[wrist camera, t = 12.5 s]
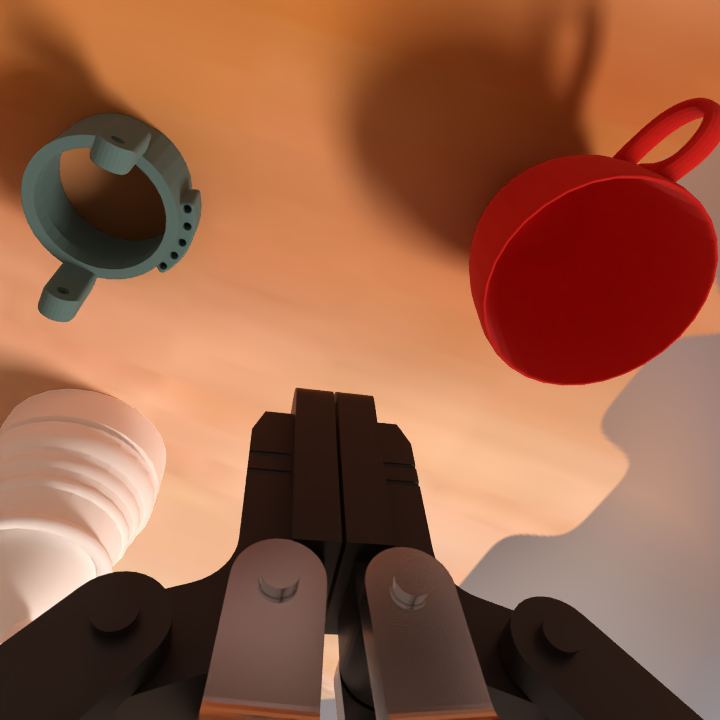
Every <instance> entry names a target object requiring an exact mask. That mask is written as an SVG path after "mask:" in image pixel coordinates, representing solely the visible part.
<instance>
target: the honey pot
mask: <svg viewBox="0 0 720 720" xmlns="http://www.w3.org/2000/svg"><path fill="white" fill-rule="evenodd" d="M165 466H166V449H165V446H164V443H163V440H162V437H161V435H160V434H159V432H158V431H157V429H156V428H155V427H154V425H153V424H152V422H151V421H150V420H149V419H147V418H146V417H145V416H144V415H143V414H142V413H140V412H139V411H138V410H137V409H136V408H134V407H132V406H130V405H128V404H126V403H125V402H123V401H121V400H119V399H117V398H115V397H111V396H108V395H105V394H102V393H99V392H95V391H89V390H80V389H59V390H49V391H46V392H43V393H40V394H37V395H33V396H30V397H29V398H27V399H26V400H24V401H23V402H21V403H20V404H18V405H17V406H15V407H14V409H13V410H12V412H11V413H10V414H9V416H8V417H7V418H6V420H5V421H4V423H3V424H2V426H1V428H0V645H1V644H2V643H3V642H5V641H6V640H7V639H9V638H10V637H12V636H13V635H14V634H16V633H17V632H18V631H20V630H21V629H23V628H24V627H25V626H27V625H28V624H29V623H31V622H32V621H33V620H35V619H36V618H38V617H39V616H40V615H42V614H43V613H44V612H46V611H47V610H49V609H50V608H51V607H53V606H54V605H55V604H57V603H58V602H60V601H61V600H62V599H64V598H65V597H66V596H68V595H69V594H71V593H72V592H73V591H75V590H76V589H77V588H79V587H80V586H82V585H83V584H85V583H86V582H88V581H90V580H92V579H94V578H96V577H98V576H102V575H105V574H108V573H113V570H112V566H114V565H115V564H116V563H117V562H118V561H119V560H120V559H121V558H122V557H123V555H124V553H125V551H126V549H127V547H128V546H129V545H130V544H131V543H132V542H133V540H134V538H135V537H136V536H137V535H138V534H139V533H140V532H141V531H142V530H143V529H144V527H145V526H146V524H147V522H148V520H149V518H150V516H151V513H152V511H153V509H154V503H155V501H156V496H157V494H158V491H159V487H160V484H161V480H162V477H163V473H164V470H165Z"/></svg>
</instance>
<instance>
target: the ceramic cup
mask: <svg viewBox="0 0 720 720" xmlns="http://www.w3.org/2000/svg"><path fill="white" fill-rule="evenodd" d="M701 117H704V118H703V121H702V123H701V125H700V127H699V128H698V130H697V131H696V133H695V134H694V135H693V137H692V138H691V139H690V140H689V141H688V142H687V143H686V144H685V146H684V147H682V148H681V149H680V150H679V151H678V152H677V153H675V154H674V155H673V156H671V157H669V158H667V159H665V160H663V161H660V162H657V163H645V164H638V165H637V163H638V162H639V161H640V160H641V159H642V158H643V157H644V156H645V155H646V154H647V153H648V152H649V151H650V150H651V149H652V148H654V147H655V146H656V145H657V144H658V143H659V142H661V141H662V140H663V139H664V138H666V137H667V136H668V135H669V134H671V133H672V132H673V131H675V130H676V129H678V128H679V127H681V126H683V125H685V124H686V123H688V122H690V121H693V120H695V119H698V118H701ZM719 142H720V105H719V104H717V103H716V102H714V101H712V100H710V99H706V98H694V99H690V100H686V101H684V102H681V103H679V104H677V105H674V106H673V107H671V108H669V109H667V110H666V111H664V112H663V113H661V114H660V115H658V116H657V117H656V118H655V119H653V120H652V121H651V122H650V123H648V124H647V125H646V126H645V127H644V128H643V129H641V130H640V131H639V132H638V133H637V134H636V135H635V136H634V137H633V138H632V139H631V140H630V141H629V142H628V143H626V144H625V145H624V146H623V147H622V148H621V149H620V150H619V151H618V152H617V153H616V154H615V155H614V156H613V158H610V157H606V156H601V155H571V156H565V157H560V158H555V159H550V160H547V161H545V162H542V163H540V164H537V165H535V166H532V167H530V168H529V169H527V170H525V171H524V172H522V173H521V174H519V175H517V176H516V177H514V178H513V179H512V180H511V181H509V182H508V183H507V184H506V185H505V186H504V187H503V188H501V189H500V190H499V192H498V193H497V194H496V195H495V196H494V198H493V199H492V200H491V201H490V202H489V204H488V205H487V207H486V209H485V211H484V212H483V214H482V216H481V218H480V220H479V222H478V224H477V227H476V230H475V233H474V236H473V239H472V244H471V251H470V259H469V273H470V285H471V292H472V297H473V301H474V304H475V307H476V310H477V313H478V317H479V320H480V323H481V326H482V329H483V331H484V334H485V336H486V338H487V339H488V341H489V343H490V344H491V346H492V347H493V349H494V351H495V352H496V354H497V355H498V356H499V357H500V358H501V359H502V360H503V361H504V362H505V363H506V364H507V365H508V366H509V367H511V368H512V369H514V370H516V371H517V372H519V373H521V374H522V375H524V376H526V377H528V378H531V379H534V380H537V381H540V382H543V383H550V384H557V385H585V384H591V383H596V382H602V381H606V380H609V379H612V378H615V377H618V376H620V375H623V374H626V373H628V372H630V371H632V370H634V369H636V368H638V367H640V366H642V365H644V364H645V363H647V362H648V361H650V360H651V359H653V358H654V357H656V356H657V355H659V354H660V353H662V352H663V351H664V350H666V349H667V348H668V347H669V346H670V345H671V344H672V343H673V342H675V341H676V340H677V339H678V338H679V337H680V336H681V335H682V334H683V332H684V331H685V330H686V329H687V328H688V327H689V325H690V324H691V323H692V322H693V321H694V319H695V318H696V316H697V314H698V313H699V311H700V310H701V308H702V306H703V305H704V303H705V301H706V299H707V297H708V294H709V292H710V289H711V287H712V284H713V282H714V278H715V273H716V268H717V262H718V250H717V249H718V247H717V237H716V234H715V230H714V227H713V223H712V220H711V218H710V217H709V215H708V213H707V212H706V210H705V209H704V207H703V205H702V204H701V203H700V201H698V200H697V199H696V198H695V197H694V196H693V195H692V194H691V193H690V192H688V191H687V190H686V189H685V188H684V187H682V186H681V185H679V184H677V183H675V182H677V181H678V180H679V179H680V178H682V177H683V176H684V175H686V174H687V173H688V172H689V171H691V170H692V169H694V168H695V167H696V166H697V165H699V164H700V163H701V162H702V161H703V160H704V159H705V158H706V157H707V156H708V155H709V154H710V153H711V152H712V151H713V150H714V148H715V147H716V146H717V145H718V143H719Z"/></svg>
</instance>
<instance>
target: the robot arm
mask: <svg viewBox="0 0 720 720" xmlns="http://www.w3.org/2000/svg"><path fill="white" fill-rule="evenodd" d="M418 483H419V481H418V476H417V471H416V469H415V461H414V457H413V452H412V447H411V443H410V442H409V441H408V439H407V438H406V437H405V435H404V434H403V432H402V431H401V430H400V428H399V427H398V426H397V425H396V424H386V423H377V417H376V410H375V403H374V398H373V396H368V395H359V394H350V393H341V392H335V394H334V393H333V392H330V391H321V390H312V389H303V388H296V389H295V393H294V398H293V404H292V411H291V414H286V413H277V412H267V411H266V412H265V413H264V414H263V415H262V417H261V418H260V419H259V421H258V422H257V423H256V424H255V426H254V427H253V428H252V435H251V443H250V451H249V460H248V468H247V477H246V485H245V493H244V502H243V510H242V518H241V527H240V535H239V541H238V545H237V548H236V550H235V552H234V554H233V555H232V557H231V559H230V560H229V561H228V562H227V563H226V564H225V565H224V566H223V567H222V568H221V569H219V570H218V571H217V572H215V573H213V574H212V575H210V576H208V577H206V578H204V579H201V580H198V581H195V582H192V583H188V584H183V585H179V586H175V587H171V588H167V589H165V588H164V587H163V586H162V585H161V584H160V583H159V582H157V581H156V580H155V579H153V578H151V577H149V576H147V575H145V574H141V573H137V572H128V571H124V572H113V573H108V574H105V575H102V576H98V577H96V578H94V579H92V580H90V581H88V582H86V583H85V584H83V585H82V586H80V587H79V588H77V589H76V590H75V591H73V592H72V593H71V594H69V595H68V596H66V597H65V598H64V599H62V600H61V601H60V602H58V603H57V604H55V605H54V606H53V607H51V608H50V609H49V610H47V611H46V612H44V613H43V614H42V615H40V616H39V617H38V618H36V619H35V620H33V621H32V622H31V623H29V624H28V625H27V626H25V627H24V628H23V629H21V630H20V631H18V632H17V633H16V634H14V635H13V636H12V637H10V638H9V639H7V640H6V641H5V642H3V643H2V644H1V645H0V720H320V702H321V684H322V667H323V649H324V634H337V635H338V639H339V660H338V664H337V667H336V670H335V675H334V690H335V699H336V708H337V718H338V720H703V719H702V718H701V717H700V716H699V715H698V714H696V713H695V712H694V711H693V710H692V709H691V708H690V707H688V706H687V705H686V704H685V703H684V702H683V701H681V700H680V699H679V698H678V697H677V696H676V695H675V694H673V693H672V692H671V691H670V690H669V689H668V688H666V687H665V686H664V685H663V684H662V683H661V682H660V681H658V680H657V679H656V678H655V677H654V676H652V674H650V673H649V672H648V671H647V670H646V669H645V668H643V667H642V666H641V665H640V664H639V663H637V661H635V660H634V659H633V658H632V657H631V656H630V655H628V654H627V653H626V652H625V651H624V650H623V649H622V648H620V647H619V646H618V645H617V644H616V643H615V642H613V641H612V640H611V639H610V638H609V637H608V636H606V635H605V634H604V633H603V632H602V631H601V630H600V629H599V628H597V627H596V626H595V625H594V624H593V623H591V622H590V621H589V620H588V619H587V618H586V617H585V616H584V615H582V614H581V613H580V612H578V611H577V610H576V609H575V608H573V607H571V606H570V605H568V604H566V603H564V602H562V601H560V600H557V599H553V598H549V597H532V598H529V599H526V600H524V601H522V602H521V603H519V604H518V606H517V607H516V608H515V610H511V609H508V608H505V607H503V606H500V605H497V604H494V603H492V602H489V601H486V600H483V599H481V598H478V597H476V596H473V595H471V594H469V593H467V592H466V591H464V590H462V589H461V588H460V587H458V586H457V585H455V584H454V582H453V579H452V577H451V576H450V574H449V572H448V571H447V570H446V568H445V567H444V566H443V565H442V564H441V563H440V562H439V561H438V560H436V559H435V556H434V552H433V548H432V543H431V539H430V534H429V529H428V524H427V519H426V514H425V510H424V505H423V500H422V495H421V490H420V486H418Z"/></svg>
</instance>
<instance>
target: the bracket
mask: <svg viewBox="0 0 720 720" xmlns="http://www.w3.org/2000/svg"><path fill="white" fill-rule="evenodd" d="M84 147H87V148H91V151H90V159H91V160H92V161H93V162H94V163H95V164H96V165H98V166H99V167H101V168H103V169H105V170H107V171H109V172H112V173H115V174H119V175H125V174H127V173H128V172H129V171H130V170H131V169H132V168H133V166H134V165H136V166H138V167H139V168H140V169H141V170H142V171H143V172H144V173H145V174H146V175H147V176H148V177H149V179H150V180H151V181H152V182H153V184H154V185H155V187H156V188H157V190H158V192H159V194H160V196H161V198H162V201H163V204H164V207H165V213H166V230H165V232H164V233H163V234H161V235H159V236H156V237H153V238H150V239H145V240H125V239H121V238H116V237H113V236H110V235H108V234H105V233H103V232H101V231H100V230H98V229H96V228H94V227H93V226H92V225H90V224H89V223H88V222H86V221H85V220H84V219H83V218H82V217H81V216H80V215H79V214H78V213H77V212H76V210H75V209H74V208H73V206H72V205H71V203H70V202H69V200H68V198H67V196H66V194H65V192H64V189H63V186H62V183H61V179H60V170H59V167H60V157H61V154H62V152H64V151H67V150H70V149H75V148H84ZM21 201H22V206H23V211H24V214H25V216H26V219H27V222H28V224H29V226H30V228H31V229H32V231H33V233H34V235H35V236H36V237H37V239H38V240H39V241H40V242H41V244H42V245H43V246H44V247H45V248H46V249H47V250H48V251H49V252H50V253H51V254H52V255H53V256H55V257H56V258H57V259H59V260H60V261H61V262H63V264H62V265H61V266H60V268H59V269H58V270H57V271H56V273H55V274H54V275H53V276H52V278H51V279H50V280H49V281H48V283H47V284H46V285H45V286H44V288H43V291H42V294H41V297H40V300H39V303H38V310H39V312H40V313H41V314H42V315H44V316H45V317H47V318H48V319H51V320H54V321H58V322H68V321H70V320H71V319H73V318H74V316H75V315H76V313H77V312H78V310H79V308H80V307H81V305H82V304H83V302H84V301H85V299H86V298H87V296H88V294H89V293H90V291H91V290H92V288H93V286H94V283H95V281H96V279H97V277H99V278H105V279H126V278H133V277H136V276H139V275H142V274H144V273H146V272H148V271H150V270H152V269H154V268H155V267H156V266H157V268H158V270H159V271H160V272H162V273H163V272H165V271H167V270H169V269H170V268H172V267H173V266H174V265H175V264H177V263H178V262H179V261H180V260H181V259H182V257H183V256H184V255H185V253H186V252H187V250H188V248H189V246H190V244H191V242H192V240H193V237H194V235H195V232H196V230H197V227H198V224H199V220H200V216H201V194H200V191H199V190H193V189H192V183H191V177H190V173H189V170H188V168H187V165H186V163H185V161H184V159H183V157H182V155H181V153H180V152H179V151H178V149H177V148H176V147H175V145H174V144H173V143H172V142H171V141H170V140H169V139H168V138H167V137H166V136H165V135H164V134H163V133H162V132H160V131H158V130H156V129H154V128H152V127H151V126H149V125H147V124H145V123H143V122H141V121H139V120H137V119H136V118H134V117H132V116H128V115H123V114H118V113H103V114H97V115H92V116H89V117H87V118H84V119H82V120H80V121H79V122H77V123H76V124H74V125H73V126H71V127H70V128H68V129H67V130H66V131H64V132H63V133H61V134H60V135H59V136H57V137H56V138H55V139H53V140H52V141H50V142H49V143H48V144H46V145H45V146H44V147H43V148H41V149H40V150H39V151H38V152H37V153H36V154H35V155H34V156H33V158H32V159H31V160H30V162H29V163H28V165H27V167H26V169H25V172H24V174H23V179H22V184H21Z"/></svg>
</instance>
